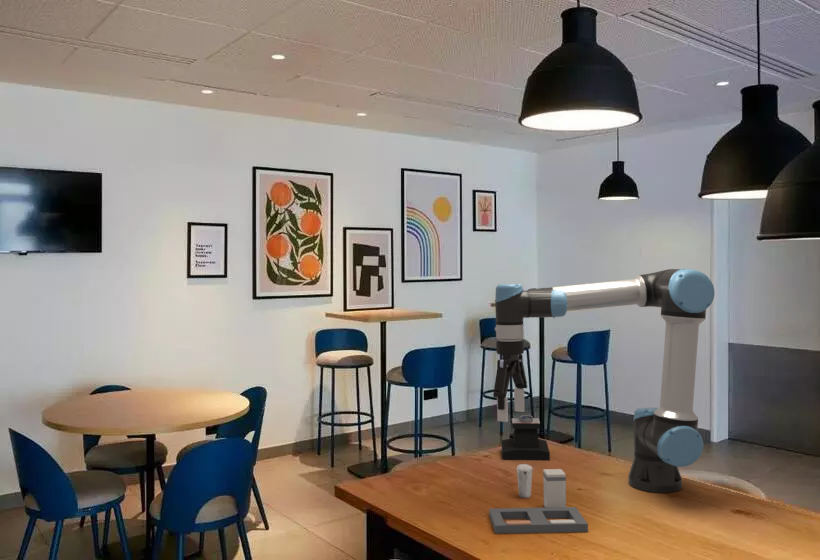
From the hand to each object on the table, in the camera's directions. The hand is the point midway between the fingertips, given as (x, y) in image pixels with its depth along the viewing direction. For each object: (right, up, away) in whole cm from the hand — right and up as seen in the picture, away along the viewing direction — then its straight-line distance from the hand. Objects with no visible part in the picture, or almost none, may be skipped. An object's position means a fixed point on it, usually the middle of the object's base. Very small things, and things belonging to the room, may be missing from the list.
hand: (511, 416), depth 190 cm
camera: (+12, -24, +51) cm, 58 cm away
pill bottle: (+5, -25, +7) cm, 26 cm away
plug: (+11, -25, -3) cm, 27 cm away
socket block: (+5, -25, -14) cm, 29 cm away
